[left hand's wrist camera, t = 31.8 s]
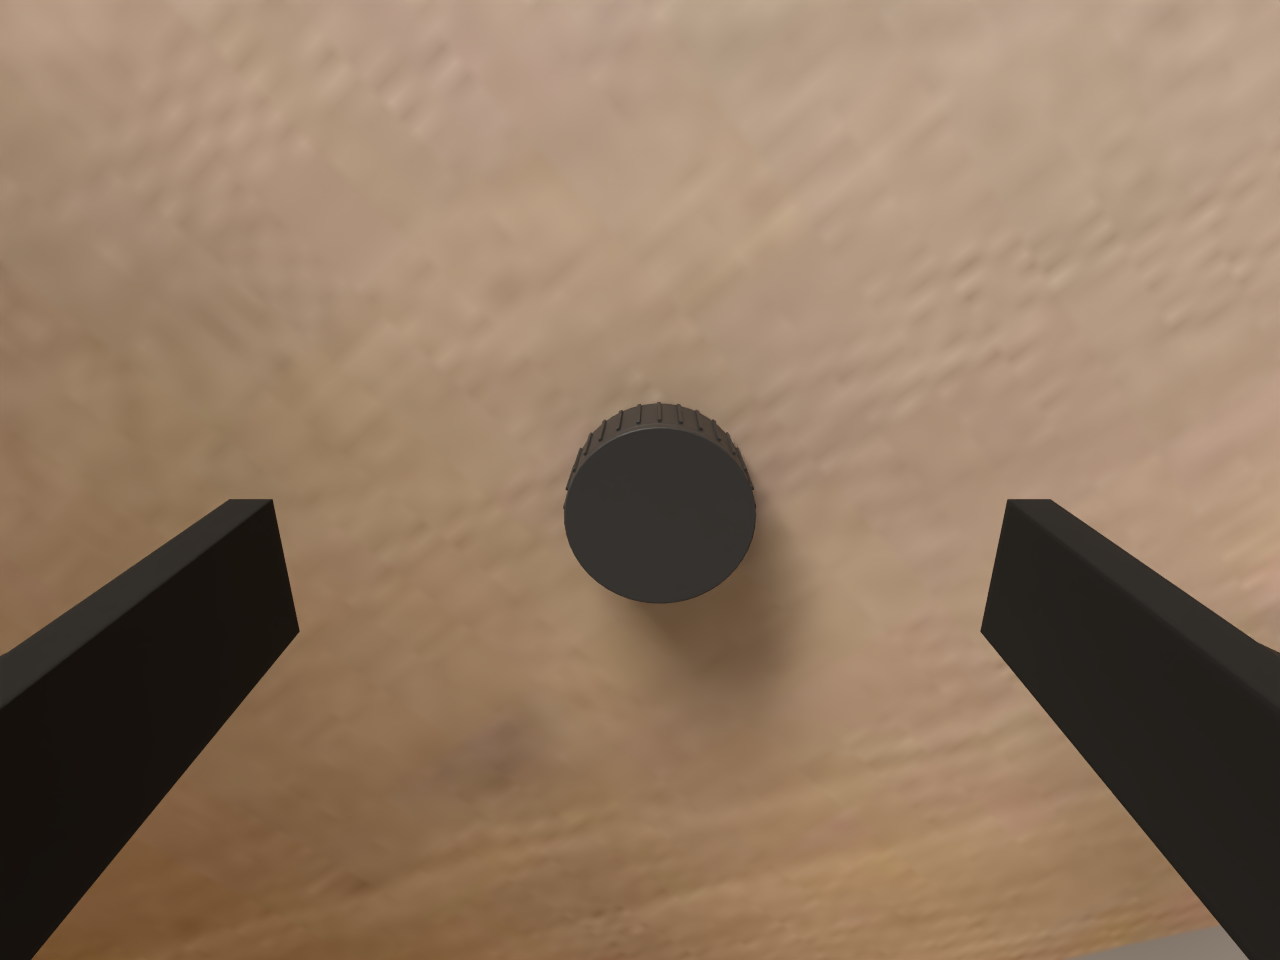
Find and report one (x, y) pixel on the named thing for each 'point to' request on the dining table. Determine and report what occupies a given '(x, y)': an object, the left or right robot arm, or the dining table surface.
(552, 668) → the dining table surface
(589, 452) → the cap
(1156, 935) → the dining table surface
